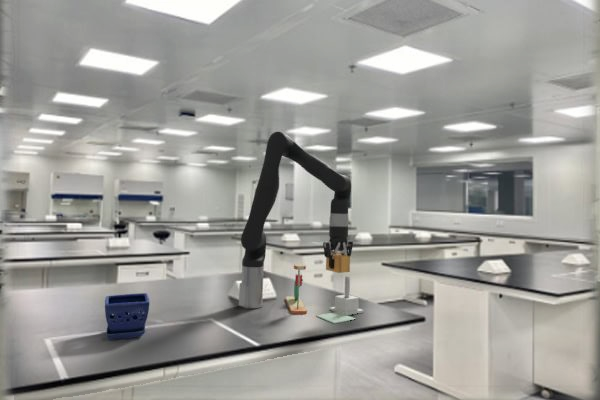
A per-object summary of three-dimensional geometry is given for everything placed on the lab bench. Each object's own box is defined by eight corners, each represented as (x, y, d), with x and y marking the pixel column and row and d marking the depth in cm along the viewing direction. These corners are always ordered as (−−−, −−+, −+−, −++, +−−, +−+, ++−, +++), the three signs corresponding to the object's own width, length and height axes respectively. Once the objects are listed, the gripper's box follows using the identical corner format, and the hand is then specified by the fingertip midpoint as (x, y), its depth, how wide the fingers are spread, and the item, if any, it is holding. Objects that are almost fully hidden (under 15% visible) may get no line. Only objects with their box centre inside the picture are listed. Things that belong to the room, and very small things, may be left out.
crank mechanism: (307, 314, 162) (308, 266, 162) (291, 314, 161) (292, 266, 161) (299, 299, 187) (300, 258, 187) (285, 299, 186) (286, 257, 186)
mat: (334, 323, 150) (334, 322, 150) (316, 316, 159) (316, 315, 159) (355, 319, 157) (355, 318, 157) (337, 312, 166) (337, 311, 166)
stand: (345, 315, 162) (346, 279, 162) (329, 309, 170) (330, 275, 170) (363, 312, 167) (364, 277, 167) (347, 306, 176) (348, 273, 176)
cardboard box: (339, 272, 153) (339, 257, 153) (325, 269, 160) (326, 254, 160) (349, 271, 156) (350, 256, 156) (336, 268, 163) (336, 253, 163)
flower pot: (102, 343, 122) (103, 304, 123) (104, 330, 135) (105, 294, 135) (148, 338, 128) (150, 301, 128) (146, 326, 140) (148, 292, 140)
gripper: (346, 224, 165) (344, 265, 165) (318, 224, 157) (317, 267, 157) (358, 225, 159) (357, 268, 159) (331, 225, 151) (329, 270, 151)
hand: (337, 267), depth 158 cm, fingers closed on cardboard box, 5 cm apart
